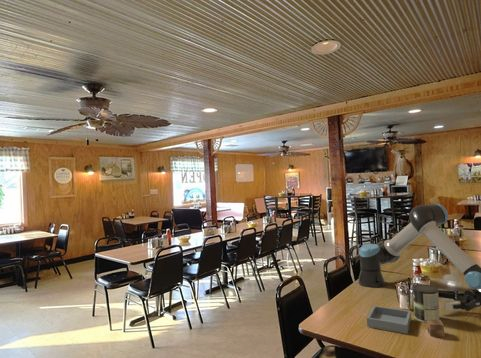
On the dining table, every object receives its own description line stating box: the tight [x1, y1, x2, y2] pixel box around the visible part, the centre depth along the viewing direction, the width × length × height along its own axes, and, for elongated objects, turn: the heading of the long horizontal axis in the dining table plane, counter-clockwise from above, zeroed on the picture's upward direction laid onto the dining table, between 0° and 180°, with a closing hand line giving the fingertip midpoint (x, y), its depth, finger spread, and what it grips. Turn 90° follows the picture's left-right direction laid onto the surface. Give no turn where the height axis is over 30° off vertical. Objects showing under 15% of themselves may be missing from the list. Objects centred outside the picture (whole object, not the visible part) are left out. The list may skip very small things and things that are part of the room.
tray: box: [366, 305, 412, 335], centre depth 147 cm, size 16×16×4 cm
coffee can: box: [411, 283, 441, 324], centre depth 149 cm, size 10×10×14 cm
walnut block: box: [426, 319, 445, 339], centre depth 134 cm, size 5×5×5 cm
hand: (434, 301), depth 149 cm, fingers open, 13 cm apart
